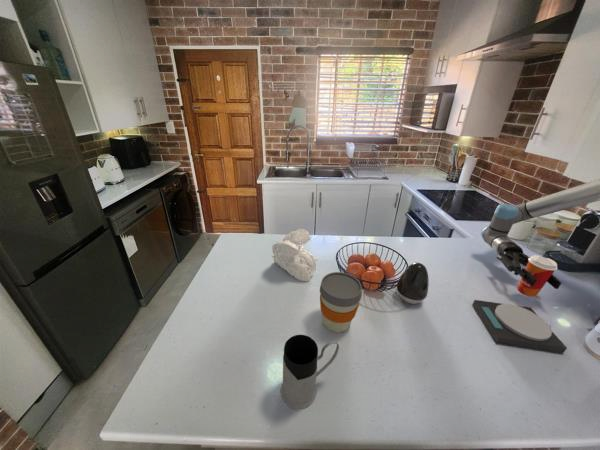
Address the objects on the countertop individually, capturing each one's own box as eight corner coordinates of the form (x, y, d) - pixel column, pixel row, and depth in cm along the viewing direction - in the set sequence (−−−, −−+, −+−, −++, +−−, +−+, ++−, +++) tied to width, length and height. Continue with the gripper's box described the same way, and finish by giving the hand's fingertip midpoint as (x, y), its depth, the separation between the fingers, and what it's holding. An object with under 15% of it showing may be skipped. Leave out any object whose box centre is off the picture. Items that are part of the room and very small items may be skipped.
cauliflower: (320, 272, 88) (278, 235, 89) (291, 300, 98) (254, 267, 100) (334, 249, 104) (299, 218, 105) (308, 275, 114) (277, 247, 116)
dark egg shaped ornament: (388, 292, 93) (396, 259, 86) (409, 285, 97) (418, 253, 90) (408, 311, 85) (419, 276, 78) (430, 303, 89) (443, 269, 82)
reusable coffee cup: (333, 343, 72) (338, 305, 66) (309, 315, 82) (312, 279, 75) (364, 326, 79) (372, 289, 72) (338, 301, 88) (343, 267, 81)
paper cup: (513, 282, 96) (528, 252, 90) (538, 290, 92) (557, 259, 86) (514, 293, 91) (531, 261, 84) (541, 302, 87) (561, 270, 80)
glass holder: (276, 379, 63) (275, 338, 56) (326, 360, 68) (331, 321, 61) (287, 415, 56) (288, 374, 49) (342, 392, 60) (350, 351, 54)
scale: (527, 312, 86) (532, 305, 85) (562, 353, 72) (569, 345, 71) (472, 305, 89) (475, 297, 87) (495, 343, 75) (500, 335, 73)
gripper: (529, 259, 104) (573, 296, 84) (478, 253, 107) (509, 288, 87) (537, 244, 101) (585, 279, 81) (485, 238, 104) (518, 271, 83)
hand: (546, 284), depth 84 cm, fingers closed on paper cup, 7 cm apart
